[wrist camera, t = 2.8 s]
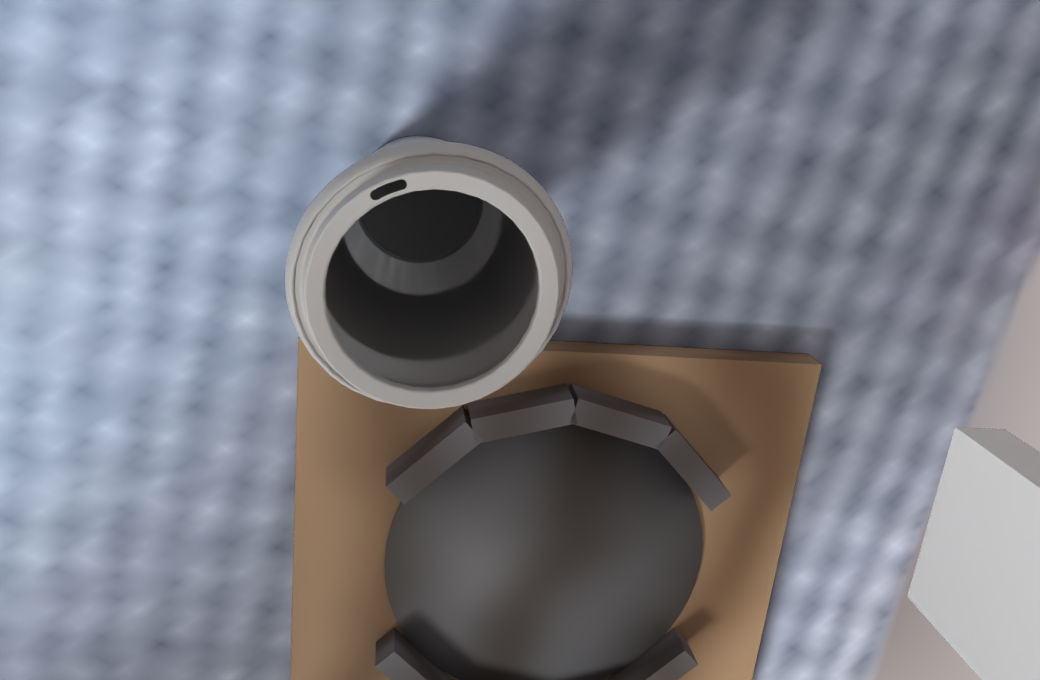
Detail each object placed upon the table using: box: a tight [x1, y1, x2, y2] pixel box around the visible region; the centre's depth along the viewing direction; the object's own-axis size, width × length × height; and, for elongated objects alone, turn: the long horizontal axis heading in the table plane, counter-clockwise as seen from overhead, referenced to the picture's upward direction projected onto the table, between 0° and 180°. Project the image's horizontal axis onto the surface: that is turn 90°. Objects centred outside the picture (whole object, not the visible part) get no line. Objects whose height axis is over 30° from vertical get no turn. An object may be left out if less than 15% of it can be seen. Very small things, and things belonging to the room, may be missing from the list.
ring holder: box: [291, 337, 822, 680], centre depth 36 cm, size 20×18×3 cm
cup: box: [285, 136, 573, 409], centre depth 26 cm, size 7×7×12 cm
